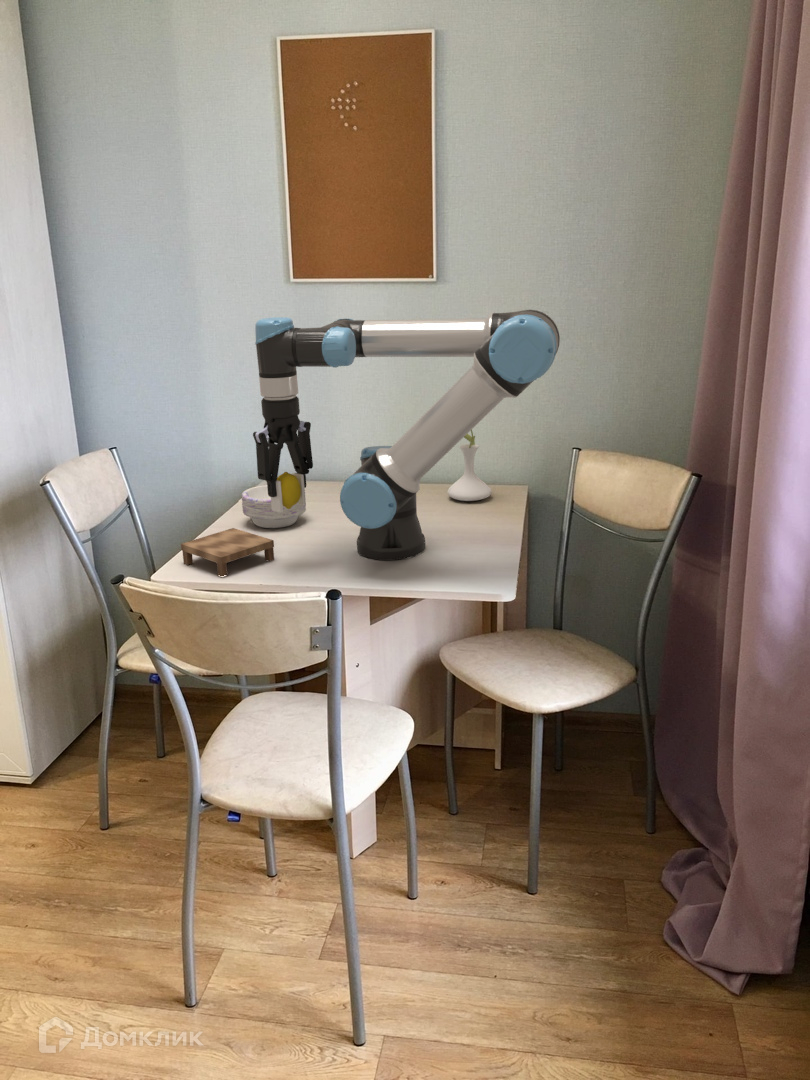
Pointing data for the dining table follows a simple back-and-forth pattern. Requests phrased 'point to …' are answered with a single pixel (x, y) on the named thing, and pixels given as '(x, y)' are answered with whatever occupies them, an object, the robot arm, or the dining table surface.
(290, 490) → the lemon
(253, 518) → the paper bowls
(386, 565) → the dining table surface
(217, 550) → the footstool
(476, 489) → the flower in vase
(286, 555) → the dining table surface
